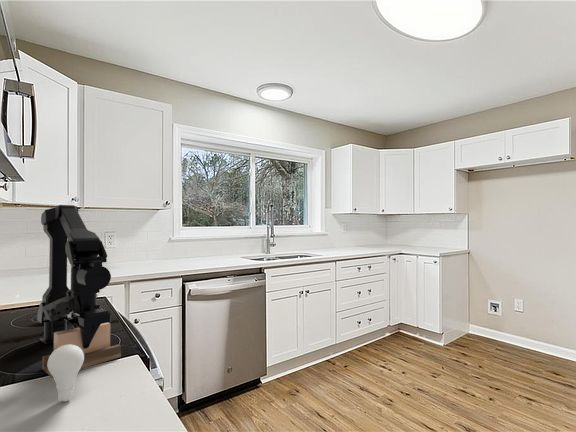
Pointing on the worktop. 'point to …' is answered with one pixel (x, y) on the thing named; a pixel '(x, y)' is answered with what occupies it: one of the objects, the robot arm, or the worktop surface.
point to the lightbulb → (65, 369)
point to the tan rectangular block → (74, 338)
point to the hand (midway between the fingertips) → (83, 346)
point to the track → (92, 357)
